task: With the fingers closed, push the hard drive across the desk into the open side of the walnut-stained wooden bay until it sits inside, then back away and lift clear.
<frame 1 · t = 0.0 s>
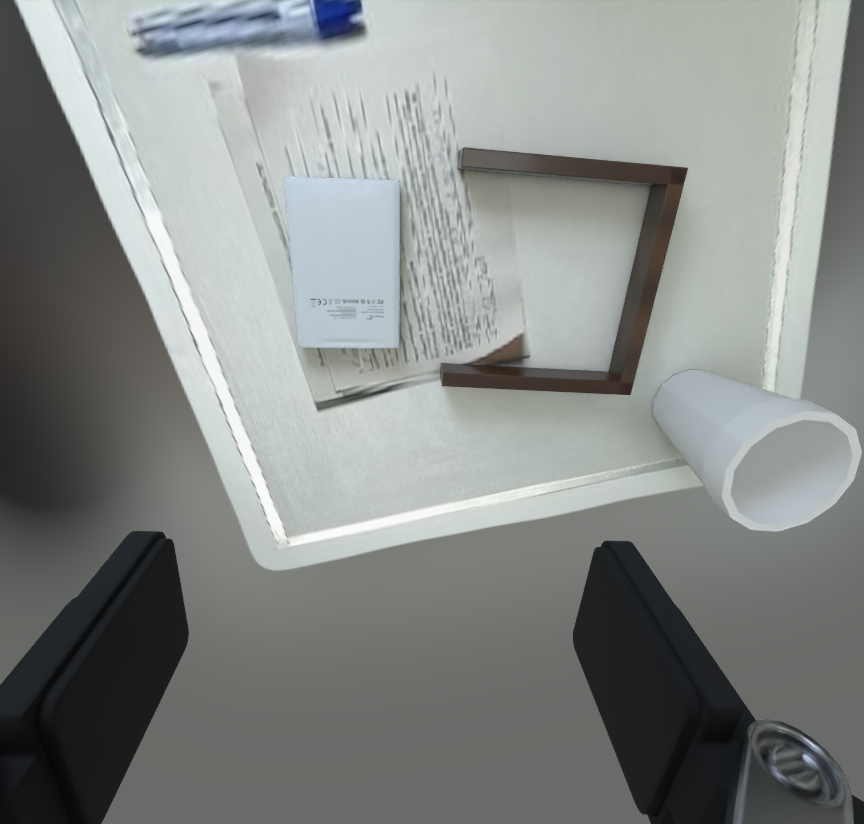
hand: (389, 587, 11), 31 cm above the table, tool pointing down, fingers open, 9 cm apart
hard drive: (347, 266, 38), on the table
dock: (539, 279, 39), on the table
foam cup: (684, 401, 45), on the table
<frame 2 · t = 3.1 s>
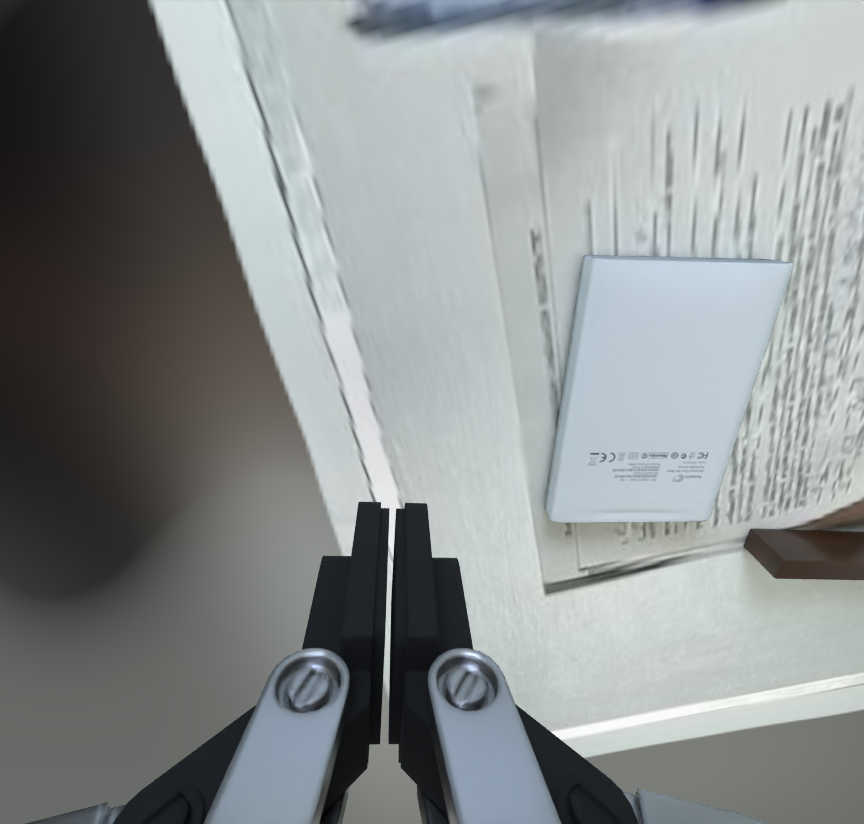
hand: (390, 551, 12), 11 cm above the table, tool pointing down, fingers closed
hard drive: (643, 393, 23), on the table
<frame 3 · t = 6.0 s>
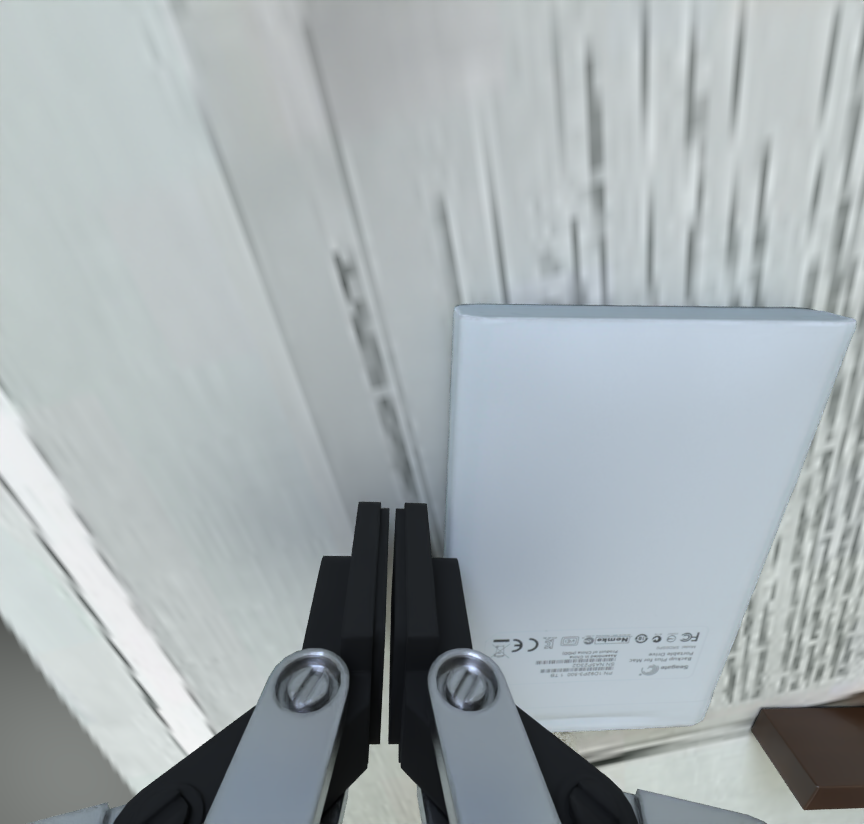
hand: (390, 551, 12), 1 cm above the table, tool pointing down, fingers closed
hard drive: (587, 526, 13), on the table, touching gripper
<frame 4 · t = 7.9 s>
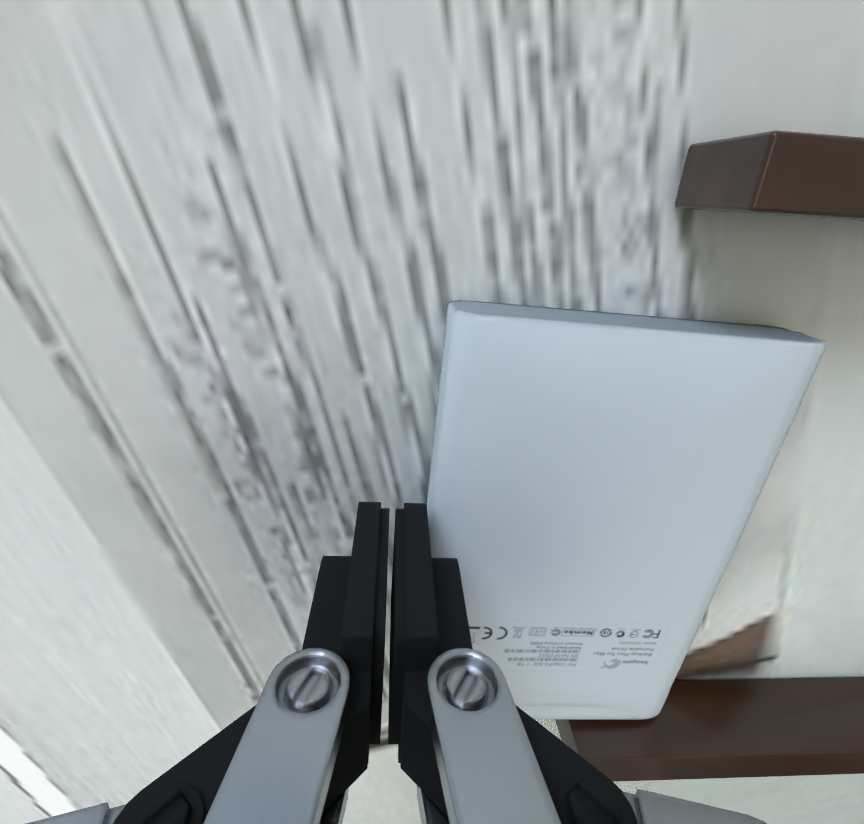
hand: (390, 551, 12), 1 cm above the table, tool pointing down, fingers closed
hard drive: (562, 523, 14), on the table, touching gripper
dock: (850, 503, 14), on the table
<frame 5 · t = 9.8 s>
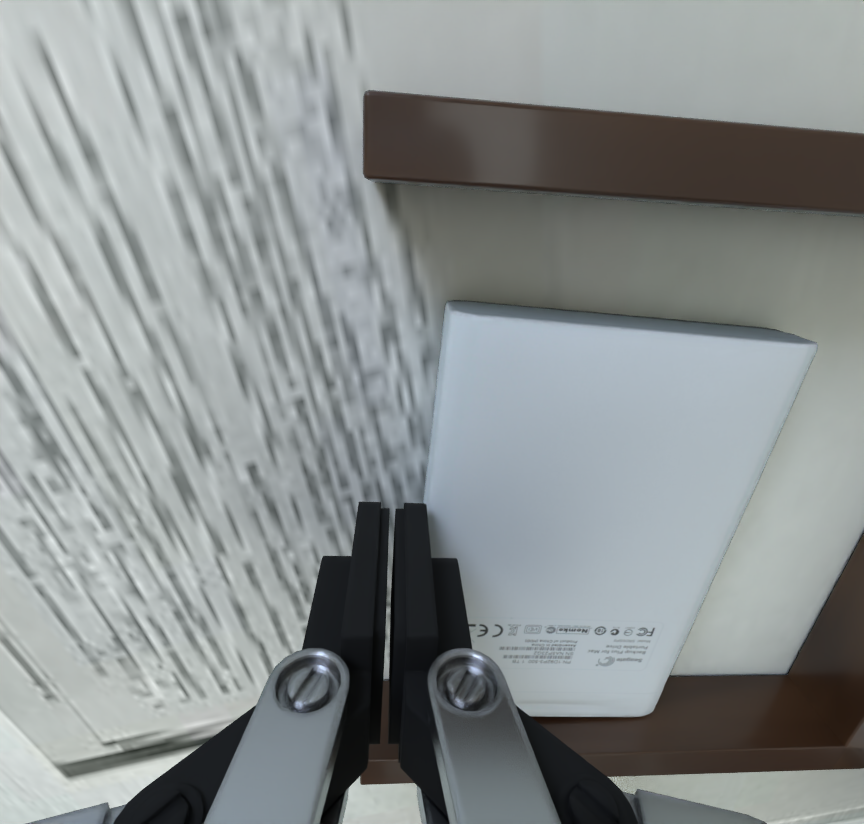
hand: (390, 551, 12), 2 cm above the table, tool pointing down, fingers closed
hard drive: (558, 522, 14), on the table, touching gripper
dock: (635, 495, 14), on the table
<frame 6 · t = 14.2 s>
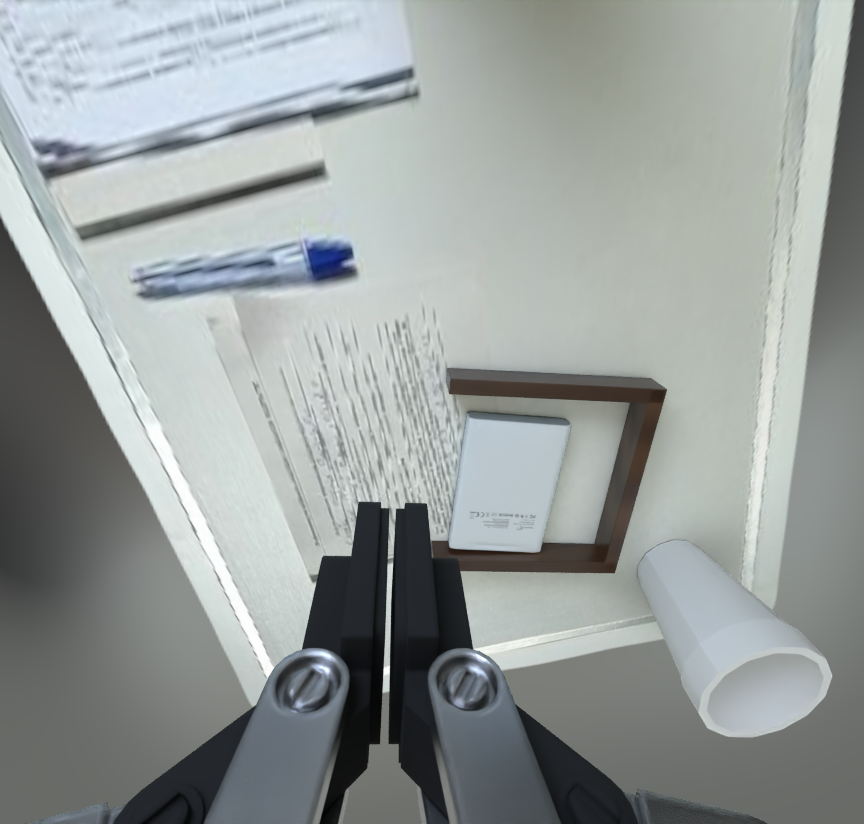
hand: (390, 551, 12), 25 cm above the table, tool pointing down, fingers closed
hard drive: (503, 479, 41), on the table
dock: (526, 470, 41), on the table
foam cup: (668, 565, 46), on the table
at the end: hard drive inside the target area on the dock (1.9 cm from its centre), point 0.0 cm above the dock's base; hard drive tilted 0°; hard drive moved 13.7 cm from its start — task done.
